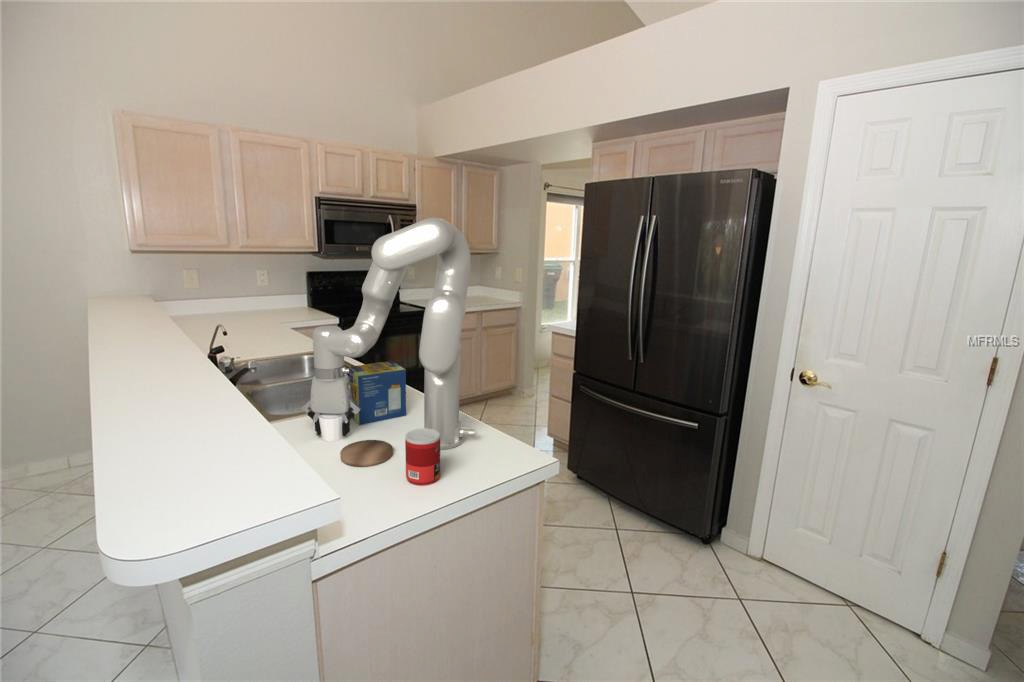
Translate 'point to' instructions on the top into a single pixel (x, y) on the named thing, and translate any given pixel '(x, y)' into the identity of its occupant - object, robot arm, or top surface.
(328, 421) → the white cup
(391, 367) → the protein box
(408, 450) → the canned food
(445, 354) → the robot arm
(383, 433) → the top surface
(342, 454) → the brown round coaster
